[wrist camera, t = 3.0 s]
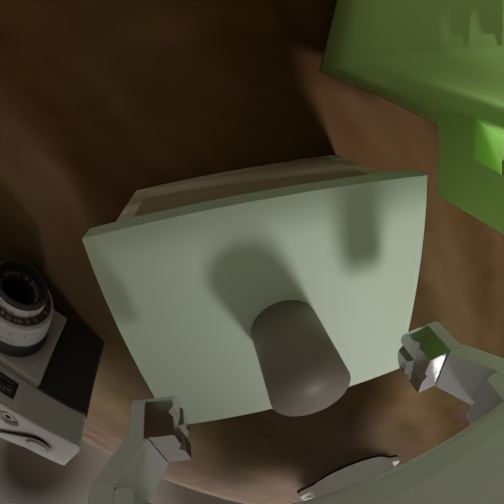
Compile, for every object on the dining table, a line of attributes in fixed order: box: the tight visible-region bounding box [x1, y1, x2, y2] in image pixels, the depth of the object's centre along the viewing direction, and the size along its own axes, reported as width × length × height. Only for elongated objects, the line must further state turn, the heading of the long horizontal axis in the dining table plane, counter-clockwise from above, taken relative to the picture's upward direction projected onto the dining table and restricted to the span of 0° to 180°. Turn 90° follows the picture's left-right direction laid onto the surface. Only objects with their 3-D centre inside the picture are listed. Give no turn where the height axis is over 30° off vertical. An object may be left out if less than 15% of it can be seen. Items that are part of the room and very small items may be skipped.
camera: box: [0, 259, 104, 465], centre depth 14 cm, size 14×8×10 cm, turn 47°
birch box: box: [116, 155, 382, 222], centre depth 17 cm, size 10×12×7 cm
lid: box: [82, 170, 427, 424], centre depth 11 cm, size 11×13×4 cm
